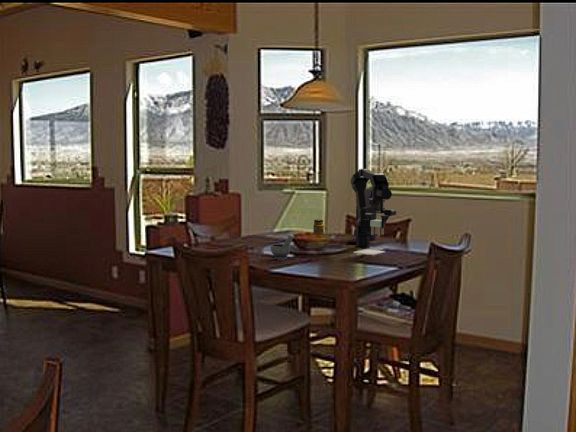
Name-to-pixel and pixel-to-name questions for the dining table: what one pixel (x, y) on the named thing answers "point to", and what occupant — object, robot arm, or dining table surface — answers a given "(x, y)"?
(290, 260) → the dining table surface
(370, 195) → the dark blue bottle
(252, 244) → the dining table surface
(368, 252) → the mat
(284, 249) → the mortar and pestle
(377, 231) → the stool
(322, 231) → the condiment
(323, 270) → the dining table surface
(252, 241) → the dining table surface
